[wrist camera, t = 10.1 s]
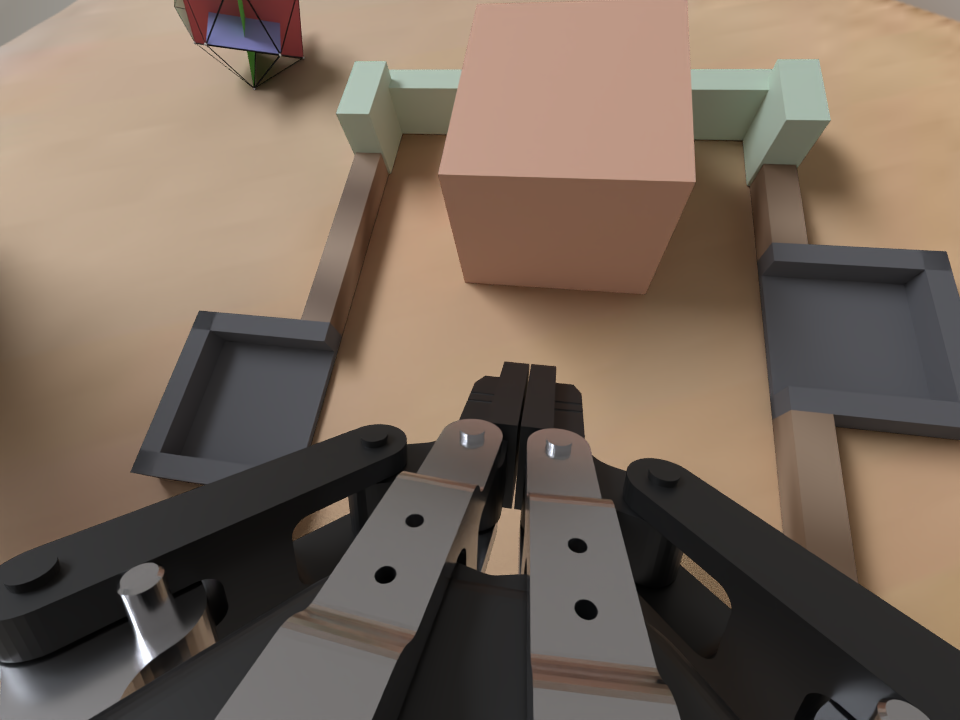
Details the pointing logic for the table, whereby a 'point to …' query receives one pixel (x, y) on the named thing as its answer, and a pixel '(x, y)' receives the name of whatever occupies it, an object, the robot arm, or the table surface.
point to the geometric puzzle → (245, 27)
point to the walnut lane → (777, 218)
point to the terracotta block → (570, 143)
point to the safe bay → (715, 103)
